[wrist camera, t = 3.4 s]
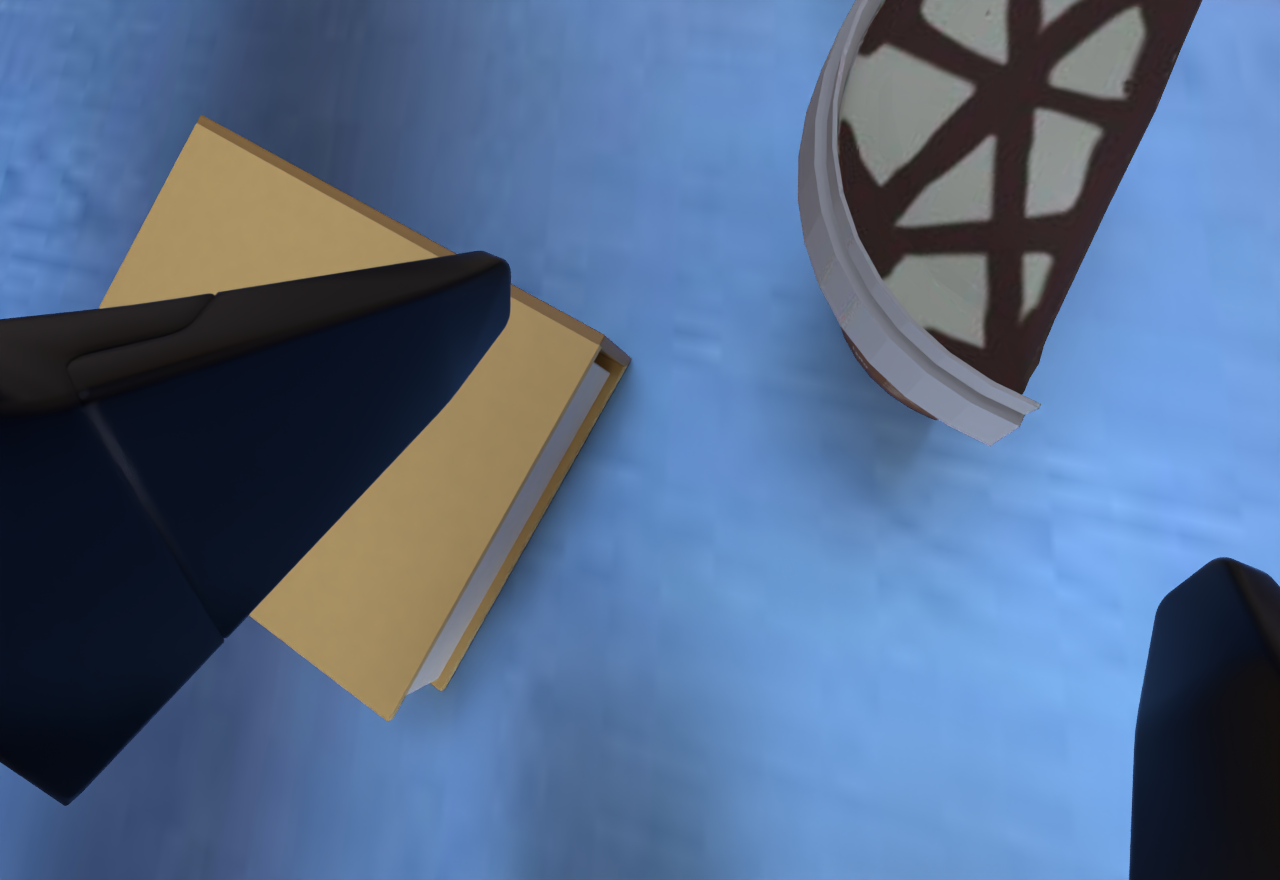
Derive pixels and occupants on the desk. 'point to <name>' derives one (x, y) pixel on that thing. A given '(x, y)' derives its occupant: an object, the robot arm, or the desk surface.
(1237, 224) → the desk surface
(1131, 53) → the food container
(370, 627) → the book
